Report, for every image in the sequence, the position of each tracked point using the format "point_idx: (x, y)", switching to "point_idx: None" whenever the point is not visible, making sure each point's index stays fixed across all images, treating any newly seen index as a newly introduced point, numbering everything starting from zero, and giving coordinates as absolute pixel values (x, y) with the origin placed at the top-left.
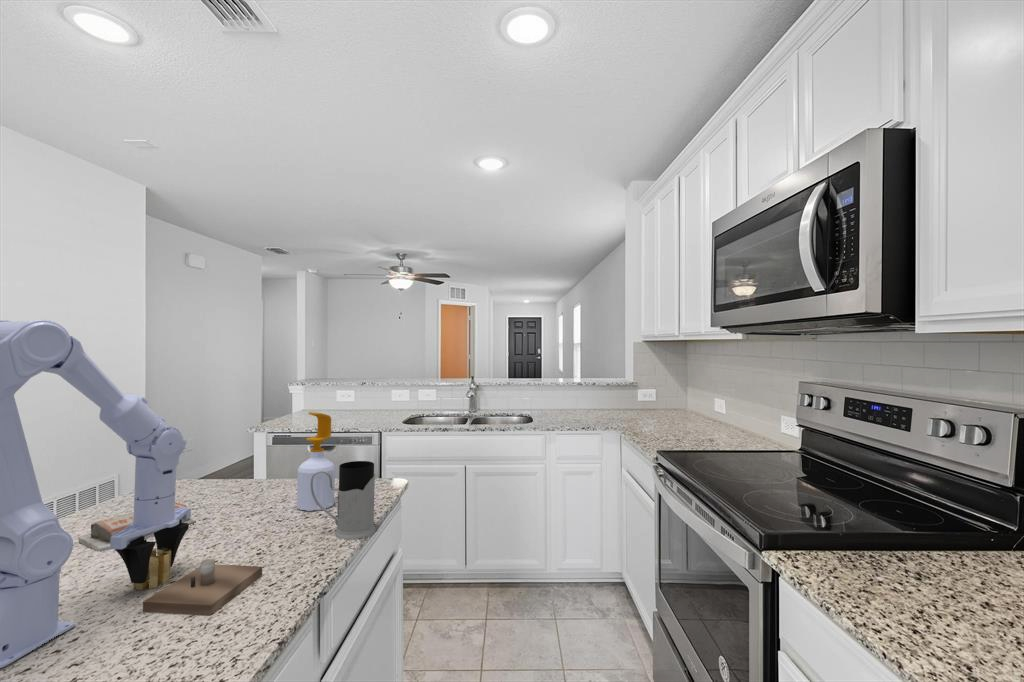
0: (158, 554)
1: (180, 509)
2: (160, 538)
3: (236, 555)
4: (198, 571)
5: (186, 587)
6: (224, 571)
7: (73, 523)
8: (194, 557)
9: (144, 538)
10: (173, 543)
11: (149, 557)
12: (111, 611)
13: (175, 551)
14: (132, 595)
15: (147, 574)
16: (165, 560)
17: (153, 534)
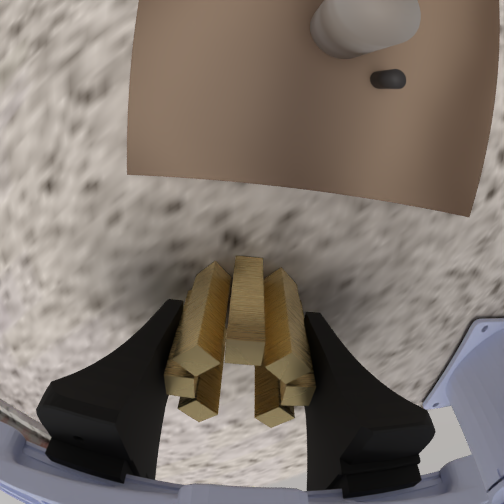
0: (197, 377)
1: (19, 497)
2: (155, 434)
3: (4, 142)
4: (209, 147)
5: (385, 106)
6: (209, 12)
7: None
8: (48, 284)
9: (41, 425)
10: (150, 371)
11: (339, 376)
12: (425, 295)
13: (149, 333)
14: (334, 306)
15: (314, 324)
16: (253, 320)
17: (25, 418)
